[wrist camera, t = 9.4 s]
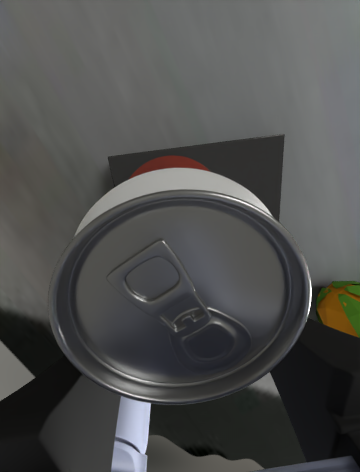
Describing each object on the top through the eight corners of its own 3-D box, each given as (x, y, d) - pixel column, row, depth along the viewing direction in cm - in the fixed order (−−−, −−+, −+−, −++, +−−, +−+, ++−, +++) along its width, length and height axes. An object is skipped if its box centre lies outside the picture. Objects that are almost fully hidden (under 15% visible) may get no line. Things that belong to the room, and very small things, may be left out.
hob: (270, 302, 22) (283, 318, 20) (152, 319, 22) (150, 337, 20) (280, 138, 16) (300, 131, 14) (116, 159, 16) (106, 156, 13)
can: (165, 260, 17) (155, 443, 5) (118, 203, 15) (-55, 300, 3) (224, 221, 16) (367, 341, 4) (183, 155, 14) (247, 59, 2)
